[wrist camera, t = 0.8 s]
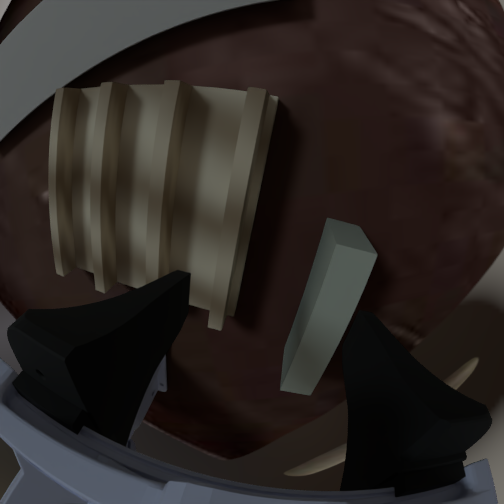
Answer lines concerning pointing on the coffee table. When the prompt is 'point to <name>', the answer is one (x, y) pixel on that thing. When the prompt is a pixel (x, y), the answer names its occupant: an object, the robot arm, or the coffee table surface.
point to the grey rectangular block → (82, 43)
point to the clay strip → (326, 304)
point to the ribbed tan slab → (158, 184)
